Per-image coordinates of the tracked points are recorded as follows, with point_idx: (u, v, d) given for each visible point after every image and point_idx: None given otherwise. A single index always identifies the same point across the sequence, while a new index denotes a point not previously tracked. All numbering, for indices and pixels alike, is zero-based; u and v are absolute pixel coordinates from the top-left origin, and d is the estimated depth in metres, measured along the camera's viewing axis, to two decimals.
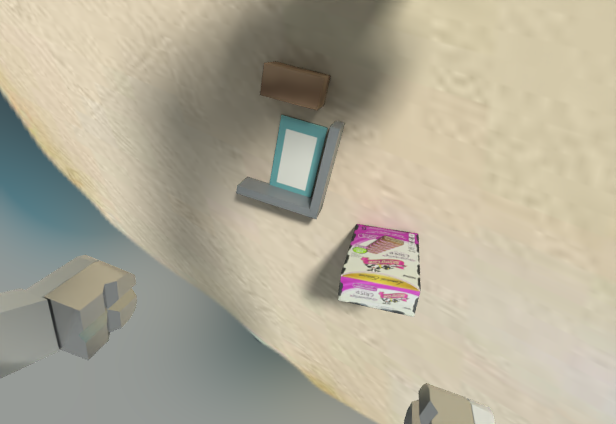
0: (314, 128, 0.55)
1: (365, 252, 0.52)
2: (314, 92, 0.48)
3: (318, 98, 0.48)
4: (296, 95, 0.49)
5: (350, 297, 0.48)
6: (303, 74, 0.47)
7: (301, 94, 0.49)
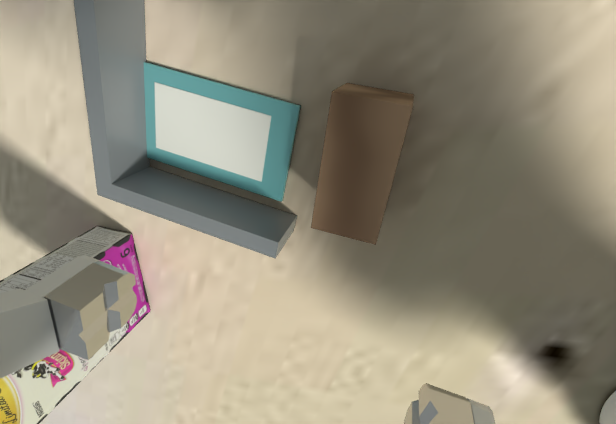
0: (278, 177, 0.27)
1: None
2: (347, 226, 0.22)
3: (334, 232, 0.23)
4: (337, 186, 0.21)
5: None
6: (383, 204, 0.21)
7: (340, 198, 0.21)
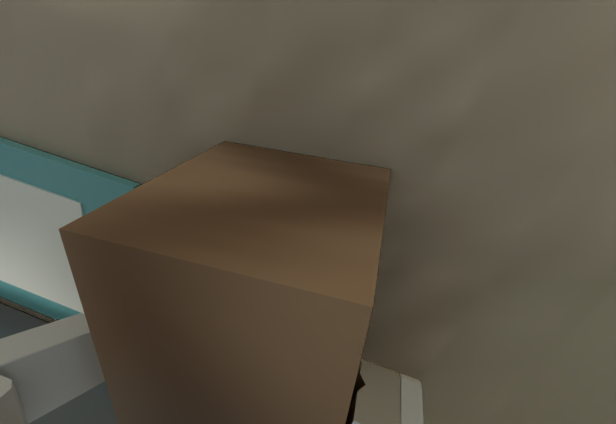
0: None
1: None
2: None
3: None
4: None
5: None
6: None
7: None
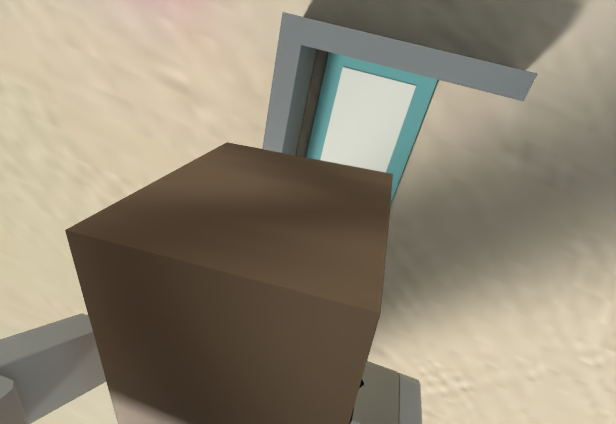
0: None
1: None
2: None
3: None
4: None
5: None
6: None
7: None
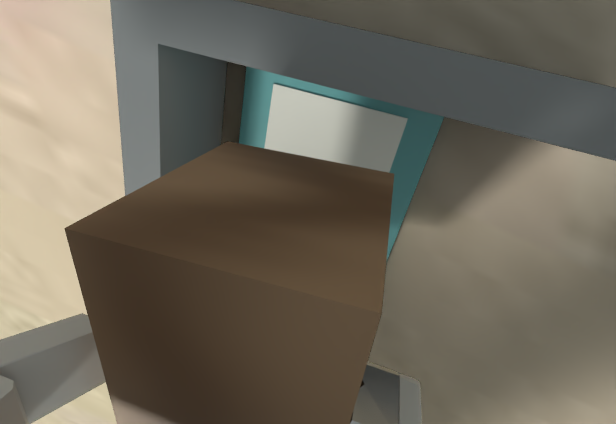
0: None
1: None
2: None
3: None
4: None
5: None
6: None
7: None
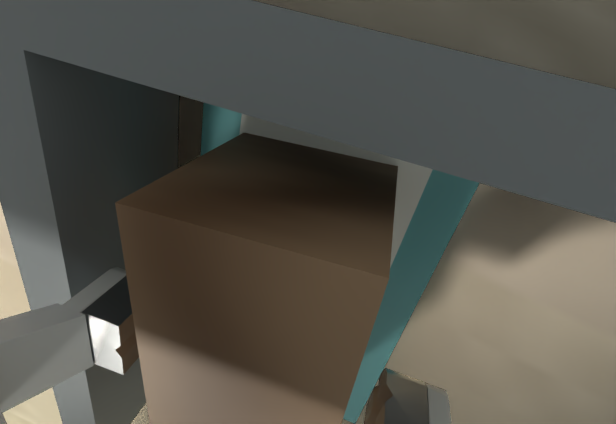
0: None
1: None
2: None
3: None
4: (195, 421, 0.08)
5: None
6: None
7: None
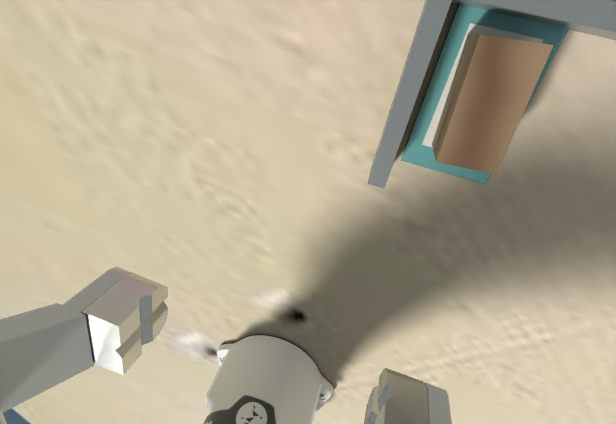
0: (425, 160, 0.32)
1: None
2: (471, 158, 0.26)
3: (458, 164, 0.26)
4: (469, 121, 0.24)
5: None
6: (509, 136, 0.24)
7: (470, 132, 0.25)
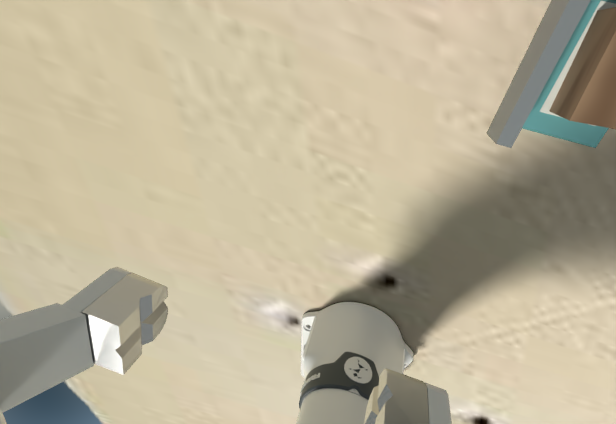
0: (540, 126, 0.35)
1: None
2: (603, 116, 0.29)
3: (590, 122, 0.30)
4: (607, 82, 0.28)
5: None
6: None
7: (606, 93, 0.29)
